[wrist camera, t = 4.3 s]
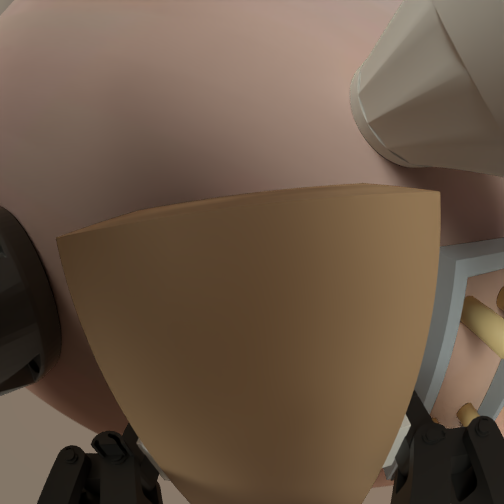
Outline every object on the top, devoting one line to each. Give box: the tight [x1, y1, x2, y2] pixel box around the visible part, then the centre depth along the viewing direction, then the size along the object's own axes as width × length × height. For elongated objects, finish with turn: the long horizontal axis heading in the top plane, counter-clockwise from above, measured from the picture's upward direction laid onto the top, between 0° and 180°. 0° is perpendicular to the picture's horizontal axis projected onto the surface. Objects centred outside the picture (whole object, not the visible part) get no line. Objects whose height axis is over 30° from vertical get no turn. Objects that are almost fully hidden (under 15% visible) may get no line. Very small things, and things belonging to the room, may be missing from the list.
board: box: [56, 183, 441, 504], centre depth 8 cm, size 7×16×4 cm, turn 7°
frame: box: [383, 238, 504, 480], centre depth 12 cm, size 12×21×5 cm, turn 7°
